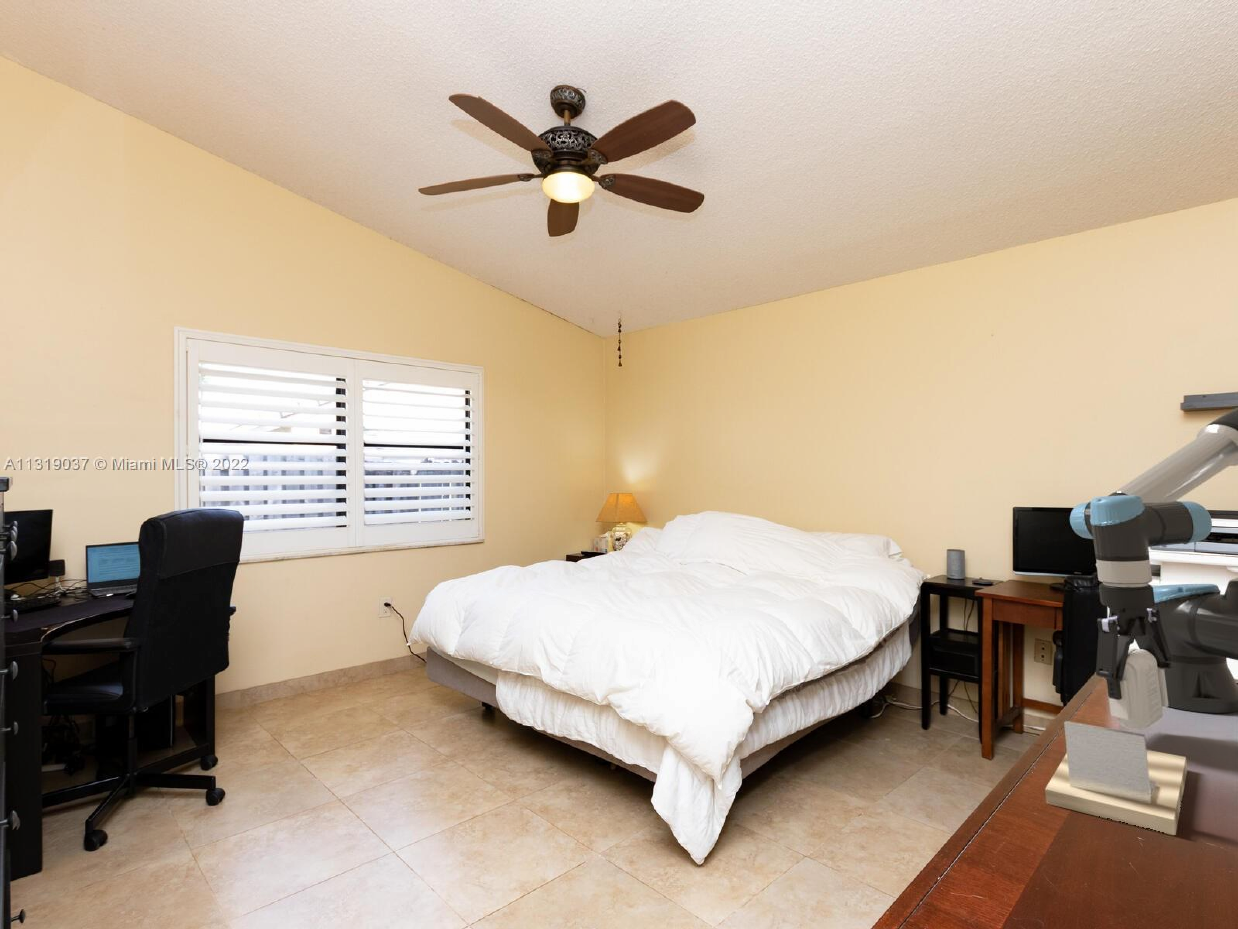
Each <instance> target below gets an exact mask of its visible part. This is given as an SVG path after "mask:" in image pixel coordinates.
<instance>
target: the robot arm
mask: <svg viewBox="0 0 1238 929" xmlns="http://www.w3.org/2000/svg"><path fill="white" fill-rule="evenodd" d="M1236 466H1238V407H1236V408H1235V409H1232V410H1231V411H1228V412H1227V413H1225V414H1224V415H1222V416H1220V417H1218V418H1215V420H1213V421H1212V422H1210V423H1208V424H1207V425H1205V426H1204V427H1202V428H1200V430H1199V431H1198V432H1197V434H1196V438H1195V439H1194V440H1191V441H1190V442H1189V443H1187V444H1185V445H1184V446H1182V447H1181V448H1179V449H1178V450H1177V451H1175V452H1173V453H1171V454H1170V455H1169V456H1168V457H1166V458H1164V459H1163V460H1161V461H1159V462H1158V463H1156V464H1155V465H1153V466H1152V467H1150V468H1148V469H1147V470H1146V471H1144V472H1143V473H1141V474H1140V475H1138V476H1136V477H1135V478H1133V479H1132V480H1130V481H1129V482H1127V483H1126V484H1124V485H1122V486H1121V487H1119V488H1117V489H1116V490H1115V491H1114V492H1112V493H1110V494H1108V495H1107V496H1097V497H1094V498H1092V499H1091V501H1088V502H1082V503H1078V504H1077V505H1076V506H1075V507H1074V508H1072V510H1071V512H1070V516H1069V522H1070V523H1069V524H1070V526H1071V528H1072V530H1073V531H1074V533H1075V534H1076V535H1078V536H1080V537H1081V538H1084V539H1090V540H1093V546H1094V554H1095V560H1096V563H1095V566H1096V570H1097V571H1096V572H1097V578H1098V581H1099V582H1101V583H1100V584H1099V586H1098V591H1099V599H1100V603H1101V605H1103V606H1105V607H1107V608H1108V609H1109V612H1108V617H1107V618H1102V617H1099V618H1097V620H1096V622H1097V628H1098V629H1097V630H1098V638H1097V653H1096V663H1095V664H1096V667H1095V675H1096V676H1097V677H1099V678H1104V679H1105V680H1106V687H1107V695H1108V704H1109V711H1110V716H1112V717H1116V718H1118V717H1119V718H1123V719H1126V720H1130V719H1131V714H1130V706H1129V697H1128V689H1127V680H1122V679H1123V674H1124V670H1125V665H1126V660H1127V656H1128V651H1129V649H1130V646H1131V644H1132V645H1133V644H1134V643H1135V642H1136V645H1137V647H1138V649H1144V650H1146V651H1148V652H1150V653H1151V654H1152V655H1153V656H1154V657H1155V659H1156V661H1157V668H1158V677H1159V685H1160V693H1161V701H1162V707H1164V708H1167V707H1169V708H1174V709H1179V710H1184V711H1190V712H1200V713H1215V714H1222V713H1223V714H1225V713H1227V714H1228V713H1229V714H1230V713H1237V712H1238V683H1237V682H1236V680H1235V678H1234V676H1233V674H1232V671H1231V669H1230V668H1229V665H1228V660H1227V659H1230V660H1234V661H1238V577H1236V578H1231V579H1230V580H1229V581H1228V583H1227V586H1226V589H1225V591H1224V593H1223V594H1221V590H1220V589H1219V586H1218V585H1217V584H1215V583H1214V584H1213V583H1178V584H1164V585H1153V586H1152V585H1151V584H1150V583H1151V582H1153V575H1152V569H1151V561H1150V553H1149V552H1150V551H1149V550H1150V548H1151V547H1158V546H1159V547H1160V546H1170V545H1188V544H1192V543H1196V542H1202V540H1203V541H1204V540H1205V539H1206V538H1207V537H1209V535H1210V533H1211V532H1212V529H1213V521H1212V516H1211V515H1210V513H1209V511H1208V510H1207V509H1206V508H1205V507H1204V506H1203V505H1202V504H1200V503H1197V502H1195V501H1192V500H1191V501H1190V500H1187V501H1181V500H1179V499H1181V498H1183V497H1184V496H1185V495H1187V494H1189V493H1190V492H1192V491H1194V490H1195V489H1196V488H1198V487H1199V486H1201V485H1203V484H1204V483H1205V482H1207V481H1209V480H1210V479H1212V478H1214V476H1216V475H1218V474H1219V473H1221V472H1222V471H1224V470H1226V469H1227V468H1229V467H1236Z"/></svg>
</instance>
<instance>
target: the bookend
mask: <svg viewBox="0 0 1238 929" xmlns="http://www.w3.org/2000/svg"><path fill="white" fill-rule="evenodd" d="M1063 723H1064V724H1063V726H1064V736H1065V744H1066V745H1065V748H1066V753H1067V759H1068V769H1069V780H1070V786H1071V787H1075V788H1080V789H1084V790H1088V791H1093V792H1097V793H1101V794H1106V795H1110V796H1114V797H1119V798H1123V799H1127V800H1132V801H1136V802H1140V803H1145V804H1149V805H1151V803H1152V799H1153V796H1154V792H1155V788H1156V781H1151V780H1150V779H1149V769H1148V760H1147V750H1148V749H1147V742H1146V734H1144V733H1137V732H1132V731H1126V730H1121V729H1115V728H1110V727H1105V726H1104V727H1103V726H1097V725H1093V724H1092V725H1091V724H1087V723H1086V724H1085V723H1080V722H1075V721H1074V722H1073V721H1069V720H1065V721H1064V722H1063Z"/></svg>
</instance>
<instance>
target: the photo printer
mask: <svg viewBox="0 0 1238 929" xmlns="http://www.w3.org/2000/svg"><path fill="white" fill-rule="evenodd" d="M1122 680H1127V689H1128V697H1129V706H1130V714H1131V719H1130V720H1126V719H1123V718H1119V717H1117V721H1118V723H1119V724H1120V725H1121V726H1122V727H1124V728H1127V729H1132V730H1142V729H1143V730H1145V729H1147V728H1149V727H1151V726H1152V725H1153V724H1155V723H1157V722H1158V721H1160V720H1161V719H1162V718H1163V717H1164V714H1163V713H1164V711H1163V706H1162V701H1161V693H1160V685H1159V677H1158V668H1157V661H1156V659H1155V657H1154V656H1153V655H1152V654H1151V653H1150V652H1148V651H1146V650H1144V649H1139V648H1129V651H1128V656H1127V660H1126V665H1125V670H1124V674H1123V679H1122Z"/></svg>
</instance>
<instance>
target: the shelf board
mask: <svg viewBox="0 0 1238 929" xmlns="http://www.w3.org/2000/svg"><path fill="white" fill-rule="evenodd" d="M1146 750H1147V760H1148V769H1149V779H1150V780H1151V781H1156V788H1155V792H1154V796H1153V799H1152V803H1151V805H1149V804H1145V803H1140V802H1136V801H1132V800H1127V799H1123V798H1119V797H1114V796H1110V795H1106V794H1101V793H1097V792H1093V791H1088V790H1084V789H1080V788H1075V787H1071V786H1070V780H1069V769H1068V759H1067V752H1066V753H1065V755H1064V757H1063V758H1062V760H1061V762H1060V764H1058V765H1059V766H1058V767H1057V768H1056V770H1055V772H1054V773H1053V775H1052V777H1051V779H1050V780H1049V782H1048V783H1047V785H1046V787H1045V788H1044V792H1045V802H1046V803H1045V804H1047V805H1051V806H1056V807H1058V808H1063V809H1068V810H1070V811H1071V810H1072V811H1075V812H1079V813H1082V814H1083V813H1084V814H1088V815H1092V816H1095V817H1099V816H1100V817H1099V818H1103V819H1107V818H1110V819H1109V820H1111V819H1112V820H1111V821H1115V822H1119V821H1121V822H1120V823H1122V822H1125V823H1124V824H1126V823H1128V824H1127V825H1132V826H1134V825H1136V826H1135V827H1138V826H1139V828H1142V827H1144V828H1143V829H1146V828H1150V829H1153V830H1152V831H1154V830H1156V831H1155V832H1158V831H1160V833H1162V832H1164V834H1167V835H1170V836H1174V835H1177V830H1178V824H1179V819H1180V814H1179V813H1180V812H1181V808H1180V807H1182V802H1181V801H1183V797H1182V796H1183V795H1184V790H1185V785H1186V780H1187V774H1188V764H1187V757H1186V756H1184V755H1183V756H1182V755H1176V754H1172V753H1166V752H1161V751H1156V750H1155V751H1154V750H1151V749H1146ZM1150 829H1149V830H1150Z"/></svg>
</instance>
